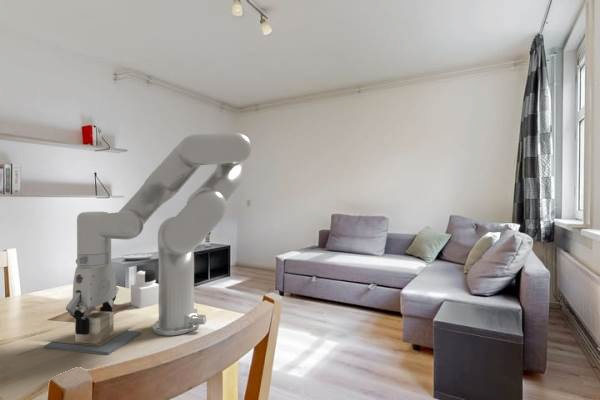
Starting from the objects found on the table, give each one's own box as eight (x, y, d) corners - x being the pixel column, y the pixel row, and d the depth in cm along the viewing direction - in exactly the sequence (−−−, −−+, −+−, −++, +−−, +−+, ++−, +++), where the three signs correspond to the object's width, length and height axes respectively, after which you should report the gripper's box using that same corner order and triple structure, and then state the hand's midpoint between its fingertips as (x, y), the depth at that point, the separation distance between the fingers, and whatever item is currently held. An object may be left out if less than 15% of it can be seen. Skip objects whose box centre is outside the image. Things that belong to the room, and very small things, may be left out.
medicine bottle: (151, 300, 118) (151, 267, 118) (161, 305, 114) (161, 270, 114) (130, 306, 113) (130, 270, 113) (140, 310, 108) (140, 274, 108)
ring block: (113, 334, 88) (113, 311, 88) (96, 344, 83) (95, 320, 82) (93, 332, 90) (93, 310, 89) (75, 342, 84) (75, 318, 84)
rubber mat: (141, 333, 90) (140, 331, 90) (108, 354, 79) (108, 352, 79) (83, 328, 93) (83, 326, 93) (43, 348, 82) (43, 345, 82)
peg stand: (132, 307, 111) (132, 292, 111) (94, 326, 95) (94, 308, 95) (90, 304, 114) (90, 289, 113) (47, 322, 98) (47, 304, 98)
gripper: (79, 267, 76) (79, 343, 77) (130, 254, 94) (130, 316, 94) (51, 265, 78) (51, 341, 78) (106, 253, 95) (106, 314, 95)
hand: (94, 327), depth 86 cm, fingers open, 7 cm apart
